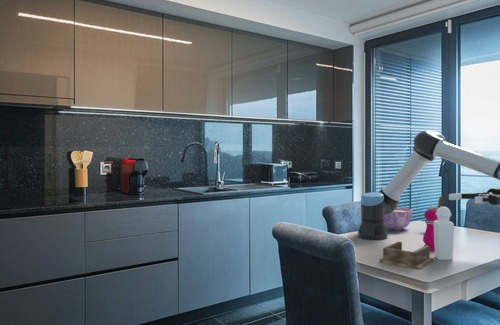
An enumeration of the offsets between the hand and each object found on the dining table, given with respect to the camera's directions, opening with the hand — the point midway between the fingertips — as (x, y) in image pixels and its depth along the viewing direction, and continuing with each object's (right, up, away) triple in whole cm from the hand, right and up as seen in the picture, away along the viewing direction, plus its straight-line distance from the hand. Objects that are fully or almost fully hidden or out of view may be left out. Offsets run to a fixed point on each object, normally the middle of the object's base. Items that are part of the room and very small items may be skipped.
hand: (461, 198), depth 169 cm
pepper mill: (-7, -25, +13) cm, 29 cm away
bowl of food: (-5, -24, +64) cm, 69 cm away
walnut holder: (-27, -25, -7) cm, 37 cm away
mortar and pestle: (+16, -24, +56) cm, 63 cm away
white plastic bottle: (-9, -25, -2) cm, 27 cm away
